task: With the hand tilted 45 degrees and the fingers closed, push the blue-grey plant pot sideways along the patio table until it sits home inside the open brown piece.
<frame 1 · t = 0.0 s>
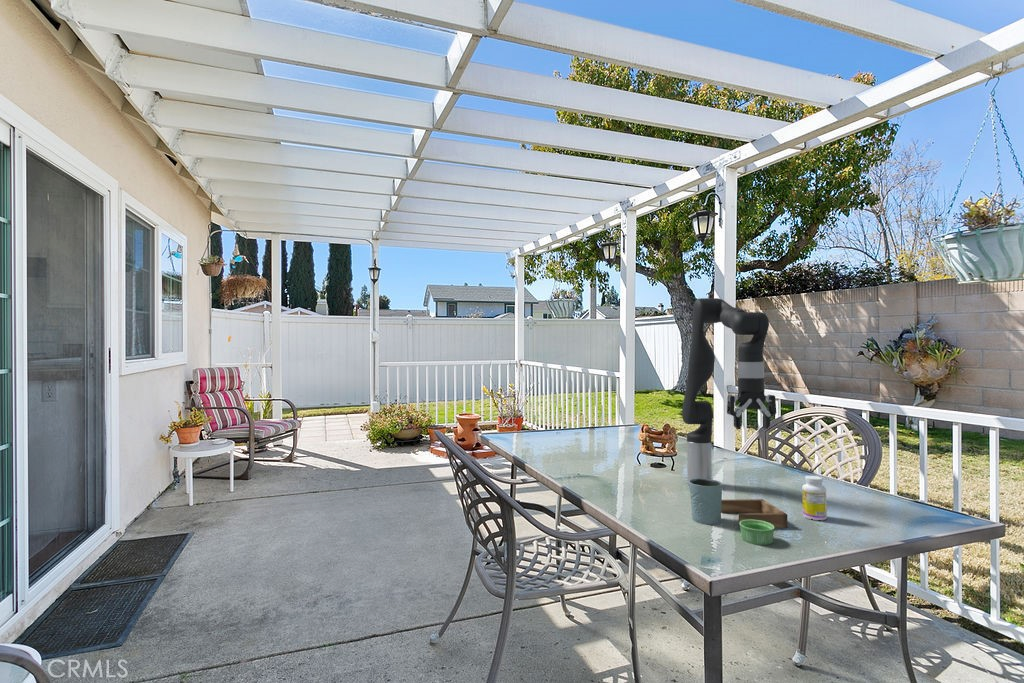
hand: (751, 428, 158), 29 cm above the table, tool pointing down, fingers open, 8 cm apart
ramekin: (756, 540, 144), on the table
brown piece: (750, 519, 161), on the table
blue-grey plant pot: (706, 520, 161), on the table
supplement bottle: (814, 518, 162), on the table
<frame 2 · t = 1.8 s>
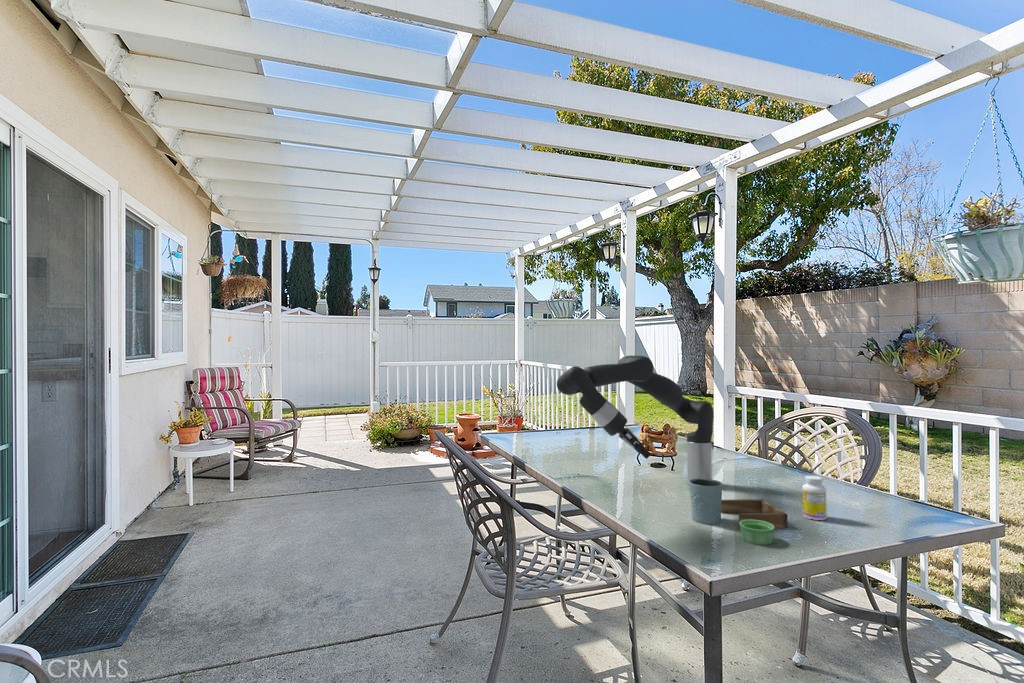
hand: (644, 453, 161), 21 cm above the table, tool tilted 45°, fingers open, 8 cm apart
nothing on the table moved.
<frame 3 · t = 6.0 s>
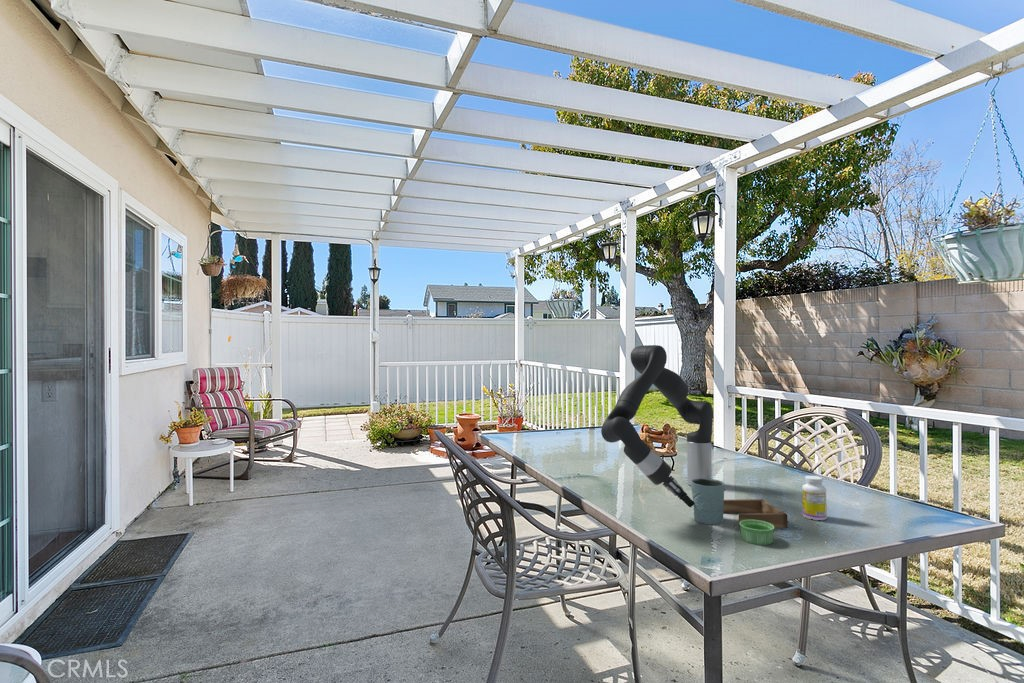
hand: (691, 504, 161), 5 cm above the table, tool tilted 45°, fingers closed
blue-grey plant pot: (708, 520, 161), on the table, touching gripper
everything else where it was.
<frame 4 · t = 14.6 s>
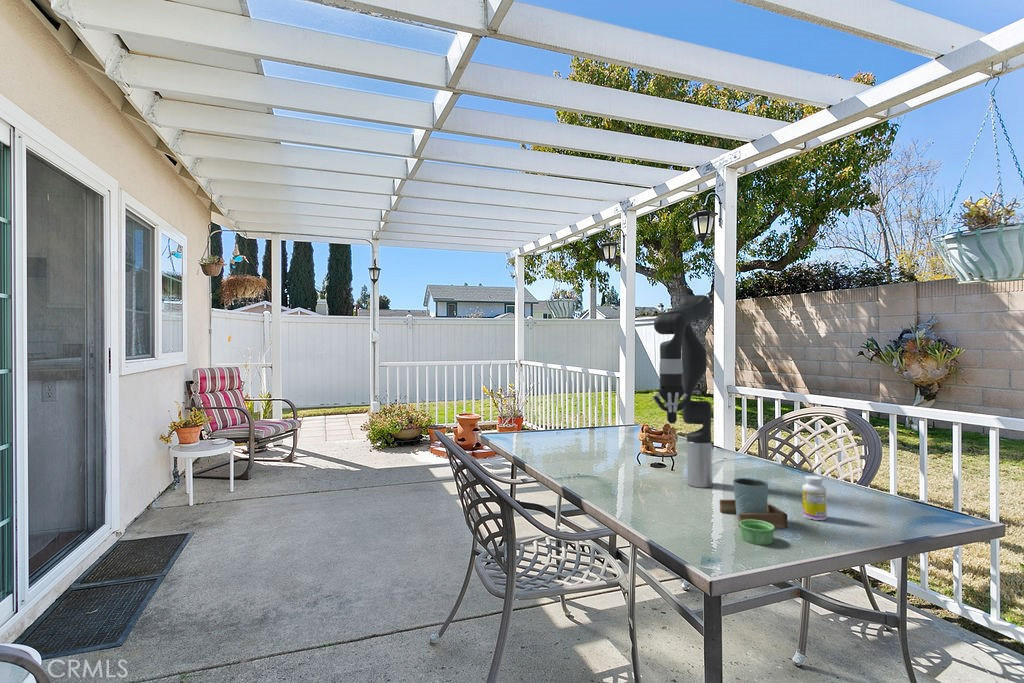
hand: (671, 423, 173), 29 cm above the table, tool pointing down, fingers closed
blue-grey plant pot: (750, 520, 161), on the table
everything else where it was.
at the end: blue-grey plant pot inside the target area on the brown piece (0.3 cm from its centre), point 0.0 cm above the brown piece's base; blue-grey plant pot tilted 0° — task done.
